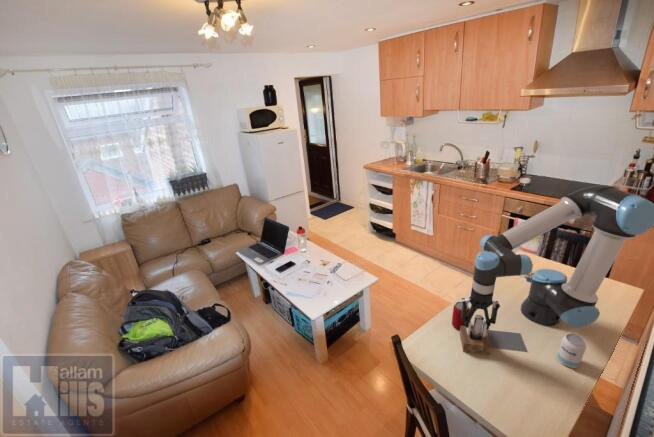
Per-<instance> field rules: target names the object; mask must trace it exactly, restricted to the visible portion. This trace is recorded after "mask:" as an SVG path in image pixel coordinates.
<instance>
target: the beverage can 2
mask: <svg viewBox="0 0 654 437" xmlns="http://www.w3.org/2000/svg"><path fill="white" fill-rule="evenodd" d="M562 337H563V338H562V340H561V344H560V346H559V349H558V352H557V355H556V357H557V360H558V361H559V363H561V364H563V365H564V366H566V367H568V368H572V369H573V368H578V367H580V365H581V362H582V360H583V357H584V354H585V352H586V348H587V344H586V340H585V339H584V338H583V337H582V336H580V335H579V334H576V333H568V334H566V335H565V336H562Z"/></svg>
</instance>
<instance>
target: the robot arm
mask: <svg viewBox="0 0 654 437" xmlns="http://www.w3.org/2000/svg"><path fill="white" fill-rule="evenodd" d="M585 216H593V217H594V220H593V221H592V225H591V226H592V228H593V230H594V232H593V234H592V236H591V238H590V240H589V242H588V244H587V246H586V248H585V250H584V251H583V253H582V255H581V257H580V258H579V262H578V263H577V265H576V267H575V269H574V271H573V273H572V275H571V276H570V279H569V281H568V277H567V275H566V274H565V273H563V272H561V271H559V270H556V269H551V268H542V269H540V268H539V269H537V270H536V271H534V273H533V275H532V277H531V282H530V287H529V291H528V295H527V297H526V298H525V299H524V300H523V302H522V303H521V306H520V311H521V314H522V315H523V317H525V318H526V319H527V320H529V321H531V322H532V323H535V324H537V325H541V326H546V327H552V326H556V325H558V324H559V323H560V321H561V320H562V321H564V323H566V325H568V326H570V327H572V328H573V327H574V328H583V327H586V326H588V325H590V324H593V323H594V322H596V321H597V320H598V319H599V316H600V314H601V313H600V310H599V308H598V307H597V306H596V305H597V303H598V301H599V296H598V295H597V292H598V290H599V289H600V287H601V285H602V283H603V281H604V280H605V278H606V276H607V274H608V273H609V271H610V269H611V268H612V266H613V264H614V262H615V260H616V259H617V257H618V255H619V253H620V251H621V250H622V249H623V246H624V244H625V242H626V241H628V240H630V239H633V238H634V239H635V237H636V236H638V235H642V234H645V233H646V232H647V231H648V230H650V229H651V228H652V227H653V226H654V203H653V202H652V201H650V200H649V199H646V198H644V197H643V196H640V195H637V194H633V193H630V192H628V191H625V190H622V189H619V188H616V187H614V186H611V185H607V184H606V185H604V184H602V185H601V184H600V185H598V184H597V185H593V186H592V185H591V186H588V187H583V188H580V189H578V190H575V191H573V192H571V193H568V194H566V195H564V196H563V197H561V198H560V201H558V202H557V203H556V204H554V205H551V206H550V207H548V208H546V209H545V210H543V211H541V212H539V213H537V214H535V215H534V216H531V217H530V218H528V219H526V220H523V221H522V222H520V223H518V224H516V225H515V226H513V227H511V228H509V229H507V230H506V231H503V232H502V233H500V234H498V235H494V234H487V235H484V236H483V237H482V238H481V239H480V243H479V245H480V248H481V249H482V250H483V251H480V252H478V253H477V255H476V257H475V262H474V270H473V277H472V284H471V291H470V296H469V297H468V298H465V297H462V298H461V302H462V303H463V305H462V312H461V318H462V321H465V327H466V328H467V334H468V335H470V329H471V327H472V321H471V319H472V318H473V316H474V315H475V313H476V311H478V310H483V313H484V320H483V325H482V331H481V332H482V335H483V337H485V333H486V330H490V327H491V324H492V325H495V324H496V322H497V315H498V310H499V309H500V307H501V305H500V302H499V301H498V300H493V296H494V292H495V287H496V286H495V285H496V281H497V278H505V277H515V276H516V277H517V276H525V275H529V274H530V273H532V271H533V267H534V266H533V265H534V263H533V261H532V259H531V257H530V256H529V255H527V254H521V253H520V254H516V253H515V252H514V251H513V250H515V249H517V248H518V247H520V246H522V245H524V244H527V243H528V242H530V241H532V240H534V239H536V238H538V237H540V236H541V235H543V234H545V233H547V232H550V231H551V230H553V229H555V228H557V227H559V226H561V225H563V224H565V223H567V222H569V221H571V220H572V219H580V218H583V217H585ZM469 303H470V304H471V305H470V307H469V308H470V309H469V311H468V313H467V315H466V311H467V305H468V306H469ZM490 307H492V308H491V315H490V314H489V310H488V308H490Z"/></svg>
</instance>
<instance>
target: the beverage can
mask: <svg viewBox="0 0 654 437" xmlns="http://www.w3.org/2000/svg"><path fill="white" fill-rule="evenodd" d="M462 305H463V303H462V301H457V302H456V303H455V304H454V305H453V308H452V316H451V325H452V327H453V328H455V329H456V330H459V331H460V326H465V321H462V318H461V312H462ZM469 309H470V307H469V304H468V305H467V311H466V315H467V313H468V311H469Z"/></svg>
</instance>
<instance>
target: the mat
mask: <svg viewBox="0 0 654 437" xmlns="http://www.w3.org/2000/svg"><path fill="white" fill-rule="evenodd" d="M486 331H487V334H488V338H489V341H490V345H491V349H499V350H506V351H507V350H508V351H516V352H524V353H529V351H528V349H527V347H526V344H525V342H524V338H523V337H522V335H521V333H520V332H519V333H518V332H511V331H501V330H492V329H488V330H486Z"/></svg>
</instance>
